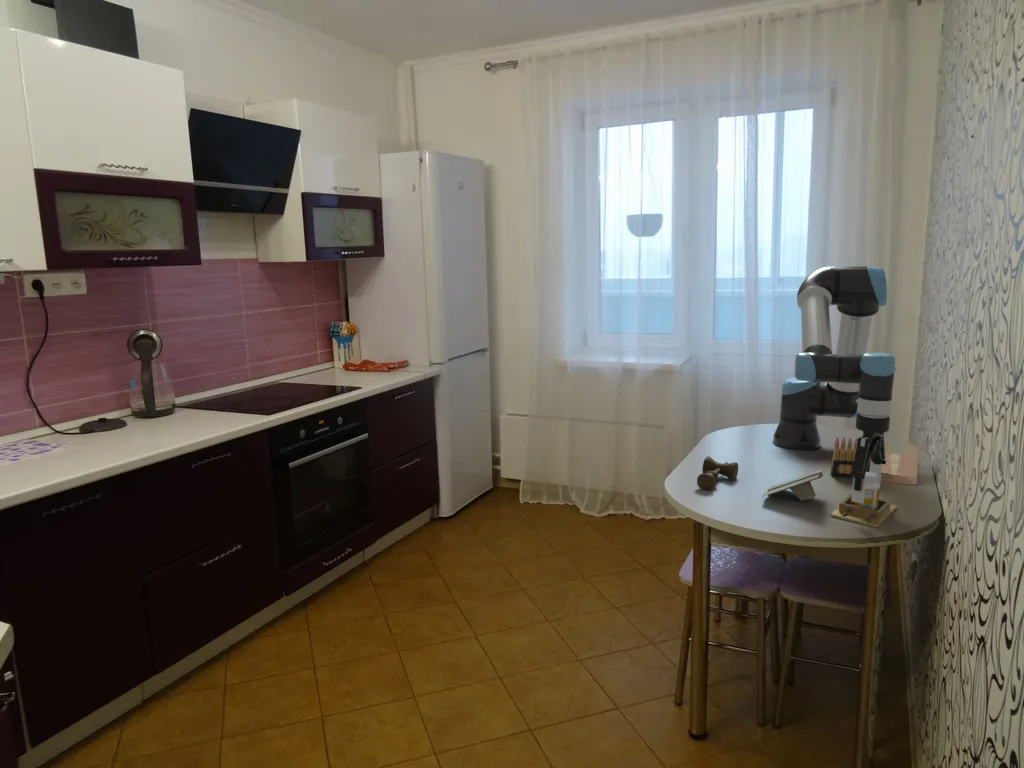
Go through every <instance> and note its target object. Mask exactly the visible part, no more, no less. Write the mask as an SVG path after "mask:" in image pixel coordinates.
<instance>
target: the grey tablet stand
mask: <svg viewBox="0 0 1024 768" xmlns="http://www.w3.org/2000/svg"><path fill="white" fill-rule="evenodd" d="M823 470H824V468H822V469H820V470H817V471H812V472H810V473H807V474H804V475H802V476H798V477H795V478H792V479H790V480H786V481H782V482H781V483H777V484H775V485H772V486H770V487H769V488H767V491H765V492H764V493H763V495H762V496H761V497H765V496H771V495H773V494H774V495H775V494H777V493H779V492H783V491H785V490H790V491H791V492H792V493H793V494H795V496H796V497H797V498H798V499H799V501H801V502H803V501H806V500H808V499H809V500H810V499H812V498H816V492H815V490H814V488H813V485H812V482H813V481H816V480H818V479H822V478H823V477H824V473H823V472H822V471H823Z"/></svg>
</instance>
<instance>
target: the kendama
mask: <svg viewBox="0 0 1024 768" xmlns="http://www.w3.org/2000/svg"><path fill="white" fill-rule="evenodd" d="M701 469H702V473H701V474H699V475H698V476H697V478H696V484H697V486H698V488H699V489H701V490H703V491H708V492H709V491H712V490H713V489H714V488H715V485H717V484H718V483H719V475H722V476H724V477H726V478H727V479H728V480H730V481H731V482H732V481H733V482H734V481H736V479H737V478H738V474H739V463H738V462H737V461H734V462H730V463H728V461H725V462H724V463H722V462H718V461H715V460H714V459H713V458H712V457H711V456H710V455H707V456H706V457H705V458H704V460H703V463H702V468H701Z"/></svg>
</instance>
